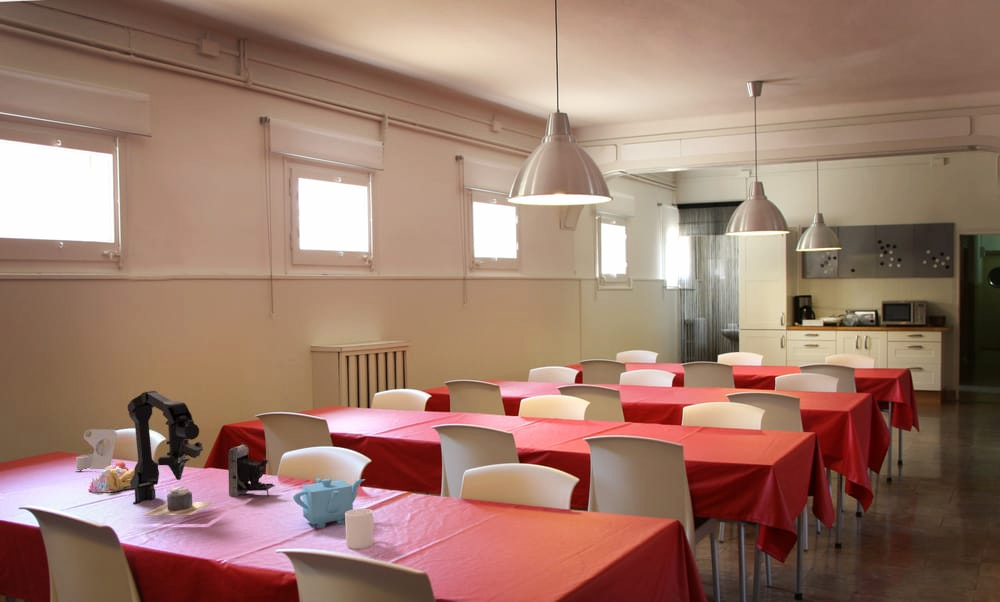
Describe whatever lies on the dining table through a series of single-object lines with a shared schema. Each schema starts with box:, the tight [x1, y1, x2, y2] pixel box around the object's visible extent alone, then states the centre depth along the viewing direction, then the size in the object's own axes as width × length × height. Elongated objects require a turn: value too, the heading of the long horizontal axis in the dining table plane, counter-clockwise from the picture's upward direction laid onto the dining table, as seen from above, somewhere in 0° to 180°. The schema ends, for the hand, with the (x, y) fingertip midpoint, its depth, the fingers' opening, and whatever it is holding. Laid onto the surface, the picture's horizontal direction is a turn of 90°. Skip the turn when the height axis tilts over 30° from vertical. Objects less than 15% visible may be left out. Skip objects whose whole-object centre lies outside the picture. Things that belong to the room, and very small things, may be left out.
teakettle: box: [293, 477, 366, 529], centre depth 285 cm, size 19×19×15 cm
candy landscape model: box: [88, 461, 134, 493], centre depth 353 cm, size 25×24×9 cm
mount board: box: [143, 501, 213, 516], centre depth 307 cm, size 18×18×1 cm
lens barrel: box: [166, 491, 193, 511], centre depth 308 cm, size 8×8×5 cm
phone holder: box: [75, 428, 117, 470], centre depth 389 cm, size 17×10×18 cm, turn 77°
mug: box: [344, 508, 375, 550], centre depth 260 cm, size 12×8×10 cm
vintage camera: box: [228, 443, 276, 497], centre depth 326 cm, size 10×16×20 cm, turn 78°
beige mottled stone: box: [169, 486, 190, 497], centre depth 308 cm, size 6×7×3 cm
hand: (178, 479), depth 308 cm, fingers closed
